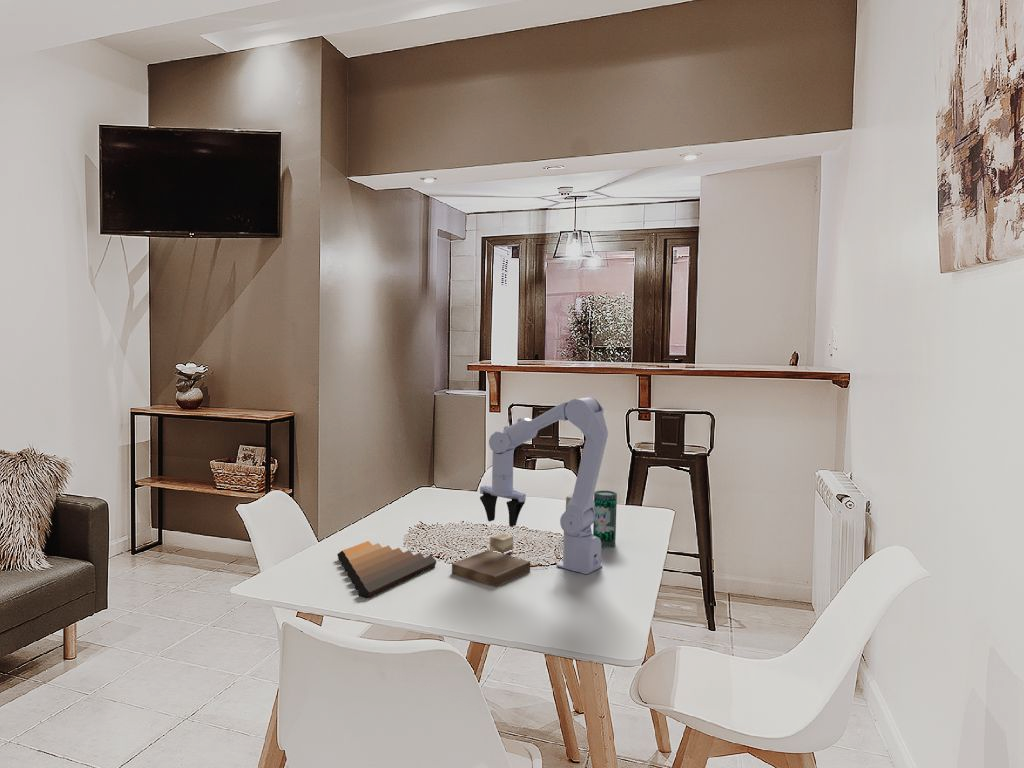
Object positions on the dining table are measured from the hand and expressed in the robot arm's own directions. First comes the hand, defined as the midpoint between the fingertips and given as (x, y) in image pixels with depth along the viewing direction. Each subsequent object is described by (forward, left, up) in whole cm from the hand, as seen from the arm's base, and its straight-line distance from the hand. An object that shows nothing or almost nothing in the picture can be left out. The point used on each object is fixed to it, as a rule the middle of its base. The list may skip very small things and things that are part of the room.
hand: (501, 523), depth 183 cm
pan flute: (+16, +34, -9) cm, 39 cm away
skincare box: (-8, -26, -8) cm, 28 cm away
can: (-18, -25, -8) cm, 32 cm away
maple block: (0, 0, -8) cm, 8 cm away
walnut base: (-8, +14, -8) cm, 18 cm away
